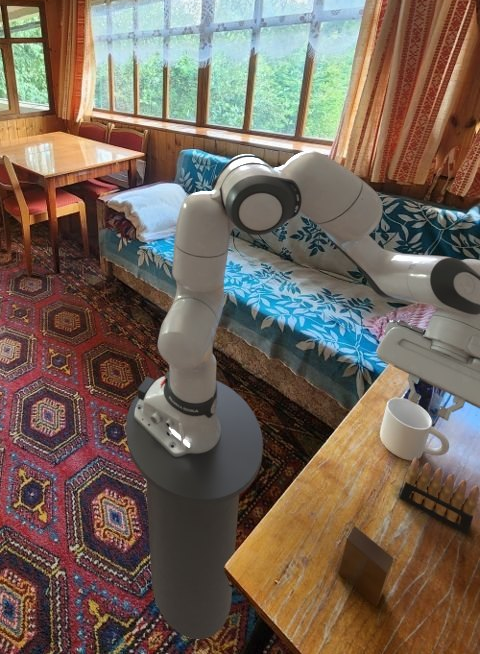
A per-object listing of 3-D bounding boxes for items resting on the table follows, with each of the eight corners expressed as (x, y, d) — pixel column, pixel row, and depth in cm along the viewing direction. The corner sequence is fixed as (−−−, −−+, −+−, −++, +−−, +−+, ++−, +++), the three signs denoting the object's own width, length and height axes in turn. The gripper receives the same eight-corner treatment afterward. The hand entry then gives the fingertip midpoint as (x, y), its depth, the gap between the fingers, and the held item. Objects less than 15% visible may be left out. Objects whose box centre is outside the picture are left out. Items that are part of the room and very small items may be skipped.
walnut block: (338, 572, 67) (346, 538, 63) (345, 559, 68) (354, 525, 65) (376, 608, 62) (387, 573, 59) (382, 592, 64) (393, 558, 60)
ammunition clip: (467, 526, 72) (484, 485, 68) (467, 535, 70) (485, 493, 66) (399, 490, 78) (411, 451, 74) (399, 498, 77) (411, 458, 73)
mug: (443, 451, 85) (454, 419, 82) (442, 480, 80) (454, 447, 76) (381, 422, 93) (389, 391, 89) (376, 447, 87) (384, 415, 84)
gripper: (388, 311, 75) (361, 373, 73) (534, 369, 60) (505, 450, 57) (392, 320, 79) (366, 378, 77) (530, 376, 64) (502, 452, 61)
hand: (427, 409), depth 67 cm, fingers open, 3 cm apart
